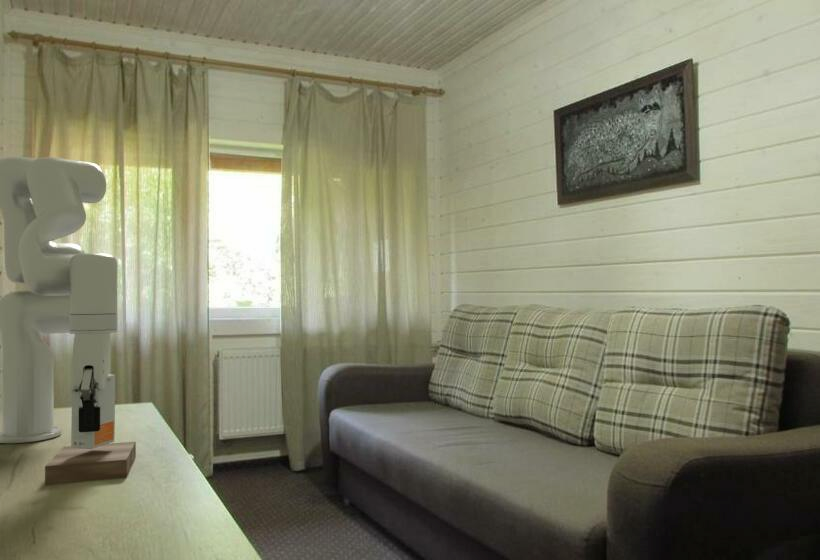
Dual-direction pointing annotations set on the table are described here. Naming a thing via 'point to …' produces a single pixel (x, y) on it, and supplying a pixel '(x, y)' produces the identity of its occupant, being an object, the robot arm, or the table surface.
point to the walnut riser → (91, 463)
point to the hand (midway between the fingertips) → (93, 426)
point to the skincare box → (106, 418)
